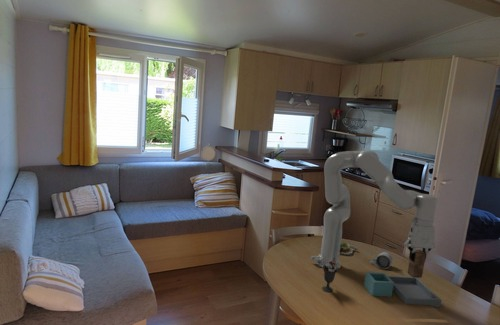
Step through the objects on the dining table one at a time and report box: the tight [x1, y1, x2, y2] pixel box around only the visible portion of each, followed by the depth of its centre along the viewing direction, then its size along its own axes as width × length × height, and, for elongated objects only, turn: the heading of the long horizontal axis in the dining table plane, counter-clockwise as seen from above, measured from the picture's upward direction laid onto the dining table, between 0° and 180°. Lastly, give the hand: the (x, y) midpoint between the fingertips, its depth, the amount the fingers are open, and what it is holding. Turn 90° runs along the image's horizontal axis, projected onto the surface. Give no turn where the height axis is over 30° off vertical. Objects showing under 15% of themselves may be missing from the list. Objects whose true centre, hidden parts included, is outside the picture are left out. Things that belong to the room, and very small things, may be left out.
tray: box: [387, 275, 442, 308], centre depth 160 cm, size 16×20×4 cm
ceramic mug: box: [370, 251, 393, 270], centre depth 187 cm, size 11×8×8 cm
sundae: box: [321, 258, 339, 293], centre depth 157 cm, size 7×7×15 cm
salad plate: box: [339, 241, 359, 256], centre depth 205 cm, size 19×18×5 cm
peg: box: [407, 249, 427, 279], centre depth 158 cm, size 4×4×12 cm
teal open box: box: [363, 271, 394, 297], centre depth 158 cm, size 9×9×8 cm
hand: (417, 260), depth 158 cm, fingers closed on peg, 4 cm apart
